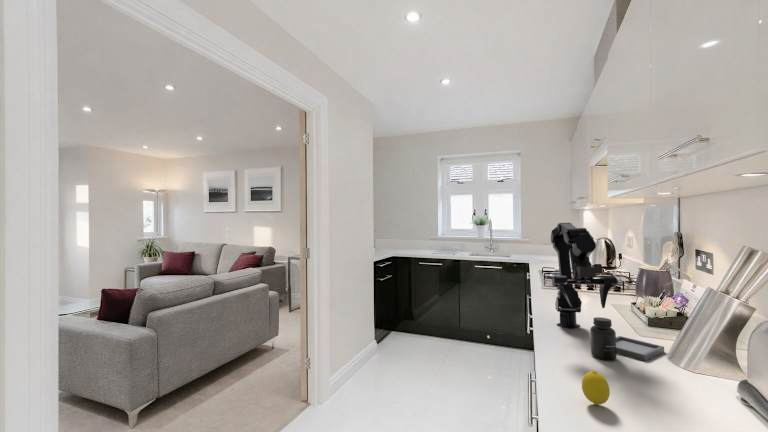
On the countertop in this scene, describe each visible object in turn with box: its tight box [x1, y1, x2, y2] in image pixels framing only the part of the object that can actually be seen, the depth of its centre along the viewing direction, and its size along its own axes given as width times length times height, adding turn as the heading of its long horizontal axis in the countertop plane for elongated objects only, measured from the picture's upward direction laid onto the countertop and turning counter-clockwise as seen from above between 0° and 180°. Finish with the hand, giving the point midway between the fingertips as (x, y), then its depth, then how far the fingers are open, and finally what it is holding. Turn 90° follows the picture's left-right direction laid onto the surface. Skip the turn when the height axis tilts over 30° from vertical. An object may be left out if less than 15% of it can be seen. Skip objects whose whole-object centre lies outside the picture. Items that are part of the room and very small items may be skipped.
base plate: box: [616, 335, 665, 362], centre depth 110 cm, size 13×13×2 cm
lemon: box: [581, 370, 611, 406], centre depth 78 cm, size 6×6×8 cm
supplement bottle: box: [589, 316, 618, 362], centre depth 105 cm, size 7×7×12 cm
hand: (587, 307), depth 109 cm, fingers open, 9 cm apart
